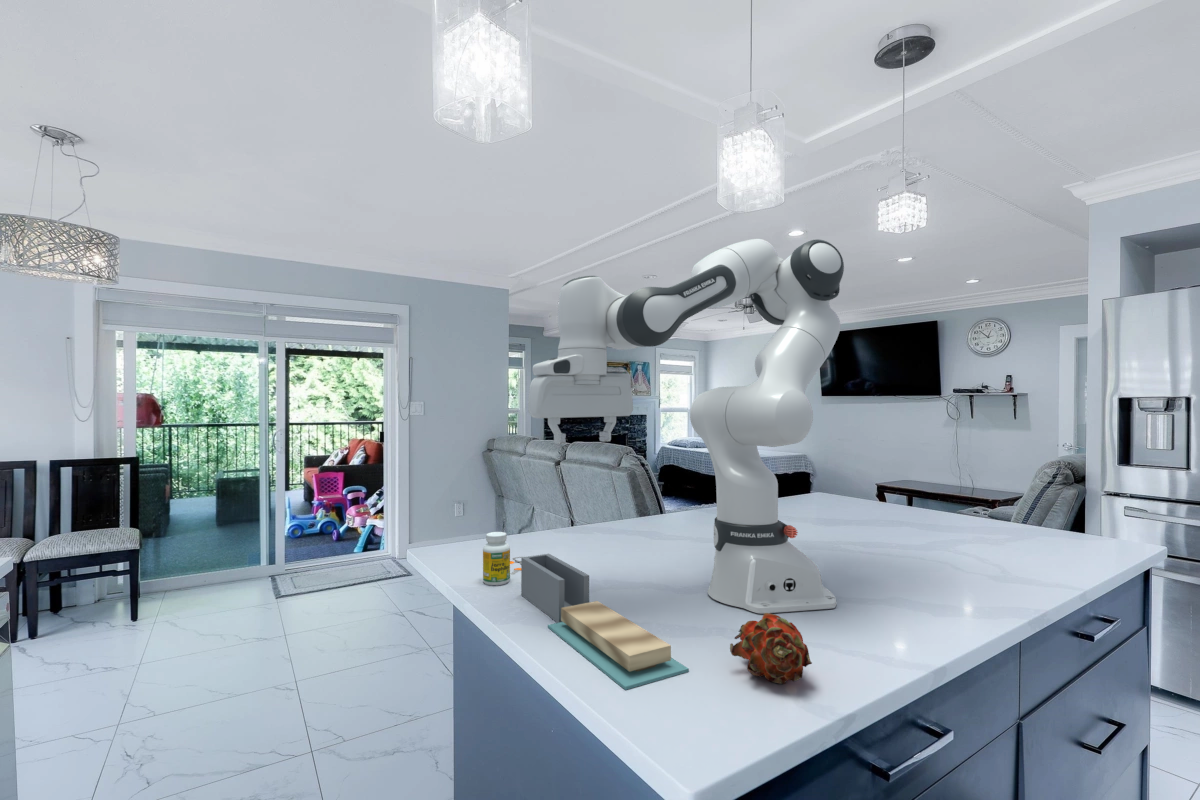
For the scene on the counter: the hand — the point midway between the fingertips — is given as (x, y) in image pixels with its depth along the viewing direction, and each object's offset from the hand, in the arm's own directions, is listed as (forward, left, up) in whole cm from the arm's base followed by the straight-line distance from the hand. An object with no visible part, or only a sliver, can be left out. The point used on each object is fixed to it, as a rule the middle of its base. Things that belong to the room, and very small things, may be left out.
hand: (583, 442), depth 104 cm
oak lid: (-5, +20, -28) cm, 35 cm away
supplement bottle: (+18, -11, -29) cm, 35 cm away
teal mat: (-5, +20, -29) cm, 35 cm away
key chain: (+15, -23, -29) cm, 40 cm away
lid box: (+5, +3, -29) cm, 29 cm away
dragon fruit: (-25, +28, -29) cm, 48 cm away
